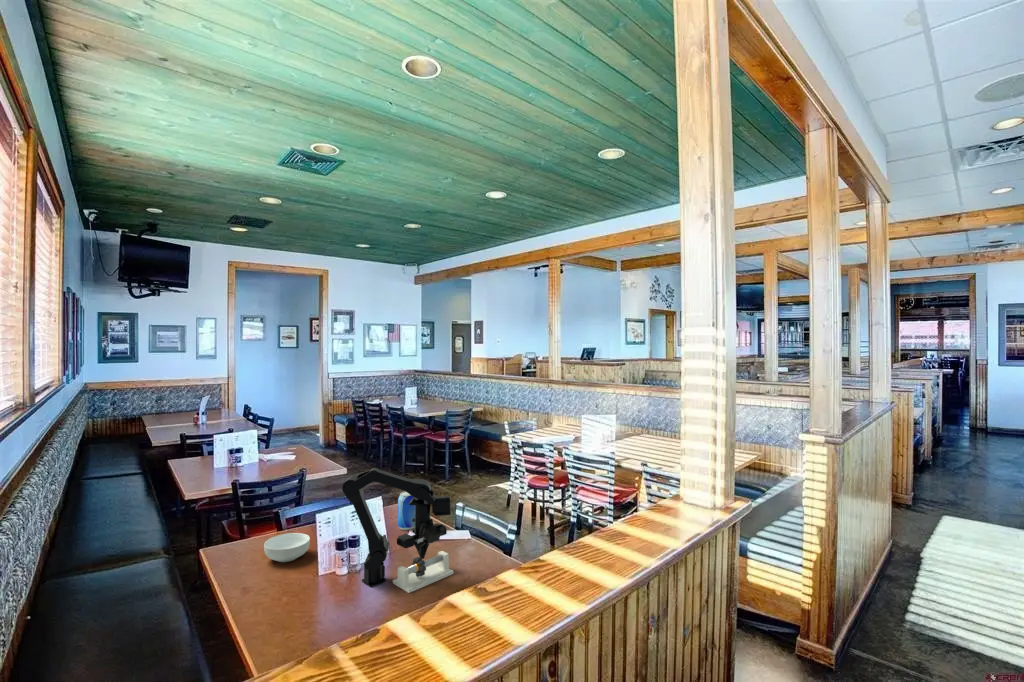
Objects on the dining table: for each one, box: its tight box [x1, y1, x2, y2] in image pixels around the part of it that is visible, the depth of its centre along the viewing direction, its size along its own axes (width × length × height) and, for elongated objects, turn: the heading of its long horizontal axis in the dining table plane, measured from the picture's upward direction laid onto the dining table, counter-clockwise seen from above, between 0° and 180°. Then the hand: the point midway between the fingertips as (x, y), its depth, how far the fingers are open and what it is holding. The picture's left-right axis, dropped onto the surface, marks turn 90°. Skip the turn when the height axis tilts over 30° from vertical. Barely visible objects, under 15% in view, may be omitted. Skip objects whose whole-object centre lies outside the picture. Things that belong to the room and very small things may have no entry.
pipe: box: [406, 554, 443, 574], centre depth 181 cm, size 18×3×3 cm, turn 136°
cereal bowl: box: [263, 532, 311, 563], centre depth 198 cm, size 17×17×7 cm
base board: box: [392, 550, 455, 594], centre depth 181 cm, size 20×10×6 cm, turn 136°
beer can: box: [397, 491, 415, 531], centre depth 231 cm, size 8×8×16 cm
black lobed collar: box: [411, 556, 426, 577], centre depth 180 cm, size 2×7×7 cm, turn 46°
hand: (422, 558), depth 181 cm, fingers closed
